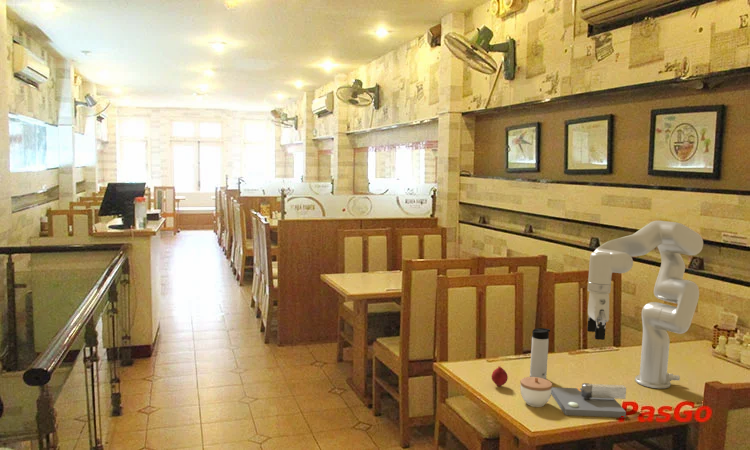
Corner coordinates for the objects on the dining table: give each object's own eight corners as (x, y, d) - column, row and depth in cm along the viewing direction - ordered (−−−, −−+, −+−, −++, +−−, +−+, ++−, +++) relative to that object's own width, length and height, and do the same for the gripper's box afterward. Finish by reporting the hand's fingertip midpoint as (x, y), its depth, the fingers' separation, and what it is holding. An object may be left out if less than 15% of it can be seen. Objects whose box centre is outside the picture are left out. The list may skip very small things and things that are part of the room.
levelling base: (605, 394, 224) (605, 387, 224) (625, 417, 204) (626, 409, 204) (550, 392, 224) (550, 385, 224) (565, 415, 204) (565, 407, 204)
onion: (507, 385, 231) (508, 364, 230) (505, 390, 225) (507, 369, 224) (492, 382, 233) (493, 362, 232) (490, 388, 227) (491, 367, 226)
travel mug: (547, 382, 235) (550, 331, 232) (530, 380, 236) (533, 330, 234) (546, 376, 241) (549, 327, 239) (529, 375, 242) (532, 326, 240)
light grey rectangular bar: (582, 400, 212) (583, 386, 212) (579, 396, 216) (580, 383, 215) (625, 401, 212) (626, 388, 211) (622, 397, 215) (623, 384, 215)
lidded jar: (542, 412, 206) (544, 385, 205) (513, 403, 213) (515, 377, 212) (556, 403, 214) (557, 377, 213) (528, 395, 221) (529, 370, 220)
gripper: (618, 293, 204) (614, 343, 206) (602, 283, 221) (599, 329, 223) (595, 292, 205) (591, 341, 207) (581, 282, 222) (578, 328, 224)
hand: (595, 335), depth 215 cm, fingers open, 9 cm apart
